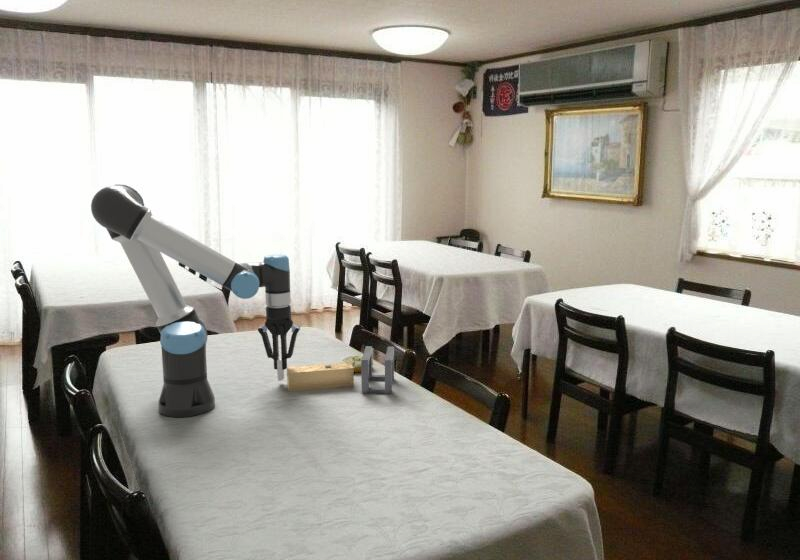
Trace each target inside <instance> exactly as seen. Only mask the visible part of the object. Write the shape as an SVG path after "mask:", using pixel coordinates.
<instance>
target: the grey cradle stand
mask: <svg viewBox="0 0 800 560" xmlns="http://www.w3.org/2000/svg"><path fill="white" fill-rule="evenodd" d="M361 356H362V359H361V372H360V374H361V394H364V395H365V394H380V395H382V394H385V395H392V393H393V382H394V380H395V346H387V348H386V354H385V358H384V374H373V365H372V360H373V346H370V345H366V346H365V348H364V352H363V353H362V355H361ZM370 381H384V387H375V386H374V387H373V386H371V387H370Z"/></svg>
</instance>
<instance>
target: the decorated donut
mask: <svg viewBox="0 0 800 560" xmlns="http://www.w3.org/2000/svg"><path fill="white" fill-rule="evenodd" d="M362 356H363V355H361V354H356V355H355V354H354V355H351V356H347V357H345V358H343V359H342V360H341V361H340V363H348V362H350V363H351V365H352V366H353V368H354V372H355V373H356V374H358V372H359V373H361V359H362ZM373 365H374V360H373V359H372V366H373Z"/></svg>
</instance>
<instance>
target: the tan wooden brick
mask: <svg viewBox="0 0 800 560" xmlns="http://www.w3.org/2000/svg"><path fill="white" fill-rule="evenodd" d="M354 375H355V374H354V368H353V366H352V365H351V363H350V362H348V363H341V362H337V363H324V364H311V365H296V366H287V368H286V385H287V391H289V392H293V391H304V390H318V389H328V388H329V389H330V388H340V387H341V388H342V387H343V388H344V387H353V386H355V379H354V377H355V376H354Z"/></svg>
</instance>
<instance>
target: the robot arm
mask: <svg viewBox="0 0 800 560" xmlns="http://www.w3.org/2000/svg"><path fill="white" fill-rule="evenodd" d="M90 211H91V214H92V216H93V219H94V220H95V221H96V222H97V223H98V224H99V225H100V226H101V227H103V228H105V229H106V230H107V232H108V235H109V237H110V239H111V240H113V241H115V242H117V243H120V245H121V247H122V249H123V250H124V251H123V252H124V253H125V255H126V257H127V259H128V261H129V263H130V265H131V267H132V269H133V271H134V274H135V275H136V276H137V279H138V281H139V282H140V284H141V286H142V288H143V290H144V292H145V294H146V296H147V298H148V300H149V302H150V304H151V306H152V308H153V310H154V312H155V313H156V316H157V320H156V322H155V326H156V328H157V330H158V332H159V333H160V341H159V342H160V345H161V357H162V358H161V360H162V376H163V377H162V379H163V385H162V387H161V392H160V394H159V395H160V396H159V399H158V403H157V404H158V407H157V408H158V413H160V414H161V415H162V414H163V416H165V415H166V417H171V418H185V417H186V418H187V417H194V416H199V415H201V414H205V413H207V412H209V411H211V410H212V409H214V408H215V406H216V405H215V404H216V398H215V394H214V393H213V390H212V388H211V384H210V382H209V380H208V366H207V342H208V330H207V327H206V325H205V324H204V322H203V321H202V320H201V319H200V318H199V315H198V313H197V312H196V310H195V307H194V306H190V305H188V304H186V301H185V300H184V297H183V295H182V293H181V292H180V289H179V287H178V285H177V284H176V281H175V279H174V277H173V275H172V273H171V271H170V269H169V267H168V265H167V264H166V261H165V260H164V257H163V255H165V256H167V257H169V258H171V259H172V260H174V261H176V262H178V263H180V264H181V265H183V266H186V267H187V268H189V269H191V270H193V271H194V272H197V273H198V274H200V275H202V276H204V277H205V278H207V279H209V280H211V281H212V282H215V283H216V284H219V285H221V286H222V287H223V288H225V289H227V290H229V291H230V292H232V293H233V294H234V295H235V296H236V297H237V298H239V299H243V300H249V299H251V298H253V297H255V295H256V294H258V292H259V289H260V288H264V292H265V294H264V295H265V296H264V297H265V305H266V307H265V322H264V324H263V325H260V326H259V327H258V329H257V332H258V333H259V334H260V336H261V339H262V343H263V346H264V349H265V354H266V356H267V358H268V359H273V369H274V370H276V371H277V372H276V373H277V381H283V380H284V379H285V370H287V367H288V359H291V357H292V356H293V354H294V350H295V345H296V340H297V336H298V333H299V331H300V330H301V327H300V326H297V325H295V324H294V322H293V320H292V307H291V305H290V304H291V302H292V300H291V298H292V297H291V272H290V271H291V269H290V259H289V257H288V256H287V255H285V254H279V253H278V254H277V253H275V254H274V253H273V254H267V255H265V256H264V257H263V261H261V262H244V263H242V262H240V263H239V262H238V263H237V262H236V261H234V260H232V259H230V258H229V257H227V256H225V255H223V254H222V253H220V252H218V251H216V250H215V249H213V248H211V247H209V246H208V245H206V244H205V243H202V242H200V241H199V240H197V239H196V238H193V237H191V236H190V235H188V234H186V233H185V232H183V231H181V230H179V229H177V228H176V227H174V226H172V225H170V224H169V223H168V222H165V221H163V220H162V219H159V217H157V216H154V215H153V213H152V210H151V209H150V208H148V207H147V206H146V205H145V203H144V199H143V197H142V196H141V194H140V193H139V192H138V191H137V190H136V189H134V188H133V187H131V186H129V185H126V184H114V185H111V186H110V185H109V186H106V187H103V188H101V189H100V190H99V191H97V192H96V193H95V195H94V196H93V197H92V200H91V204H90ZM290 329H291V333H292V334H291V337H290V341H289V347H287V345H288V343H287V336H288V335H287V334H288V332H289V331H290ZM268 331H269V333H270V334H271V339H272V346H271V342H270V337H269V335H268ZM279 337H280V347H279ZM279 348H281V349H280V350H279ZM287 350H288V351H287ZM279 352H280V353H281V355H280V354H279ZM280 356H281V357H280Z"/></svg>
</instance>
